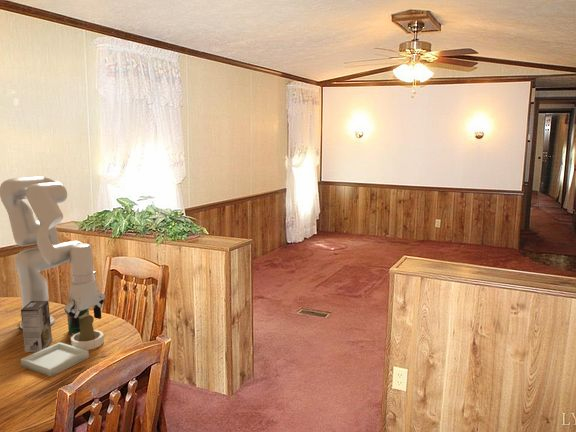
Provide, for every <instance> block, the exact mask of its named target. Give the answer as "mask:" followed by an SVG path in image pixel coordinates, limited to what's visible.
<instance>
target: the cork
mask: <svg viewBox="0 0 576 432" xmlns="http://www.w3.org/2000/svg"><path fill="white" fill-rule="evenodd" d="M94 319H95V318H94V315H91V314H89V315H83V316H81V317H80V318H79V323H80V338H79V341H90V340H94V339H96V338H95V334H94V330H95V329H94V325H93V324H94V322H95V321H94Z"/></svg>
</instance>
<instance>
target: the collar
mask: <svg viewBox="0 0 576 432" xmlns="http://www.w3.org/2000/svg"><path fill="white" fill-rule="evenodd" d="M94 334H95V338H96V339H94V340H90V341H79V338H80V332H79V333H76V334H72V336H70V345H71V346H74V347H77V348H81V349H84V350H87V351H89V350H94V349H97V348H99V347H101V346H102V345H103V344H104V343H105V338H104V337H105V336H104V333H103V331H100V330H98V329H94Z"/></svg>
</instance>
